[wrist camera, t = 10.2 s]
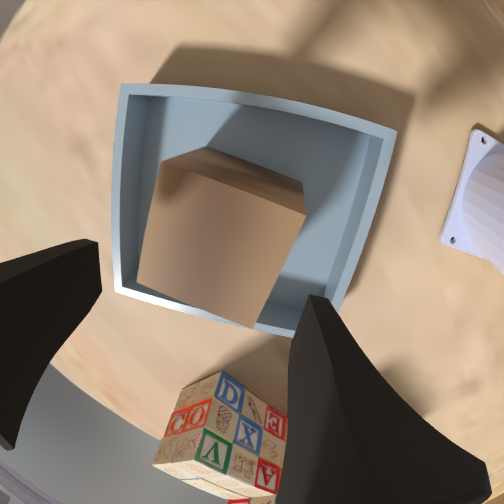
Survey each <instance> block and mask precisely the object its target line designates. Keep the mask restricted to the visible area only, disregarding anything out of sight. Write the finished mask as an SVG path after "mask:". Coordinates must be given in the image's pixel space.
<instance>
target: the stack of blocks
mask: <svg viewBox="0 0 504 504" xmlns="http://www.w3.org/2000/svg"><path fill="white" fill-rule="evenodd" d="M287 421H288V418H285V417H284V416H283V415H281V414H280V413H278V412H277V411H275V410H274V409H272V408H271V407H270V406H268V405H267V404H266V403H265V402H263V401H262V400H260V399H259V398H258V397H256V396H255V395H254V394H252V393H251V392H249V391H248V390H247V389H245V388H244V387H243V386H242V385H240V384H239V383H238V382H236V381H235V380H234V379H232V378H231V377H230V376H228V375H227V374H226V373H224V372H223V371H221V372H219V373H216V374H214V375H212V376H210V377H208V378H206V379H204V380H202V381H199V382H197V383H195V384H192V385H190V386H188V387H186V388H184V389H183V390H182V391H181V393H180V395H179V398H178V401H177V403H176V406H175V409H174V412H173V413H172V415H171V418H170V420H169V423H168V426H167V428H166V431H165V434H164V437H163V438H162V440H161V442H160V445H159V447H158V450H157V452H156V455H155V457H154V461H153V464H152V465H153V466H155V467H156V468H158V469H160V470H162V471H164V472H166V473H168V474H170V475H172V476H174V477H176V478H179V479H180V480H181V481H184V482H186V483H188V484H190V485H192V486H195V487H197V488H199V489H201V490H204V491H207V492H208V493H211V494H214V495H216V496H219V497H222V498H224V499H229V502H228V504H275V503H276V498H277V493H278V488H279V483H280V478H281V472H282V467H283V460H284V454H285V447H286V440H287Z"/></svg>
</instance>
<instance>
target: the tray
mask: <svg viewBox="0 0 504 504" xmlns="http://www.w3.org/2000/svg"><path fill="white" fill-rule="evenodd" d="M397 132H398V131H396V130H393V129H391V128H388V127H385V126H382V125H379V124H376V123H373V122H370V121H367V120H364V119H361V118H358V117H354V116H351V115H347V114H344V113H341V112H337V111H333V110H330V109H326V108H322V107H318V106H314V105H310V104H305V103H301V102H297V101H292V100H287V99H282V98H277V97H272V96H266V95H261V94H255V93H248V92H242V91H235V90H227V89H219V88H210V87H199V86H187V85H171V84H121V88H120V95H119V102H118V110H117V118H116V127H115V138H114V150H113V166H112V193H111V229H112V257H113V273H114V286H115V292H118V293H121V294H124V295H127V296H130V297H133V298H137V299H140V300H143V301H146V302H150V303H153V304H156V305H160V306H163V307H167V308H170V309H174V310H177V311H181V312H185V313H188V314H192V315H196V316H200V317H203V318H207V319H211V320H215V321H219V322H223V323H227V324H231V325H236V326H240V327H244V328H248V327H246V326H243V325H240V324H238V323H235V322H232V321H230V320H227V319H224V318H222V317H219V316H217V315H214V314H211V313H209V312H206V311H204V310H201V309H199V308H196V307H194V306H191V305H189V304H186V303H184V302H182V301H179V300H177V299H174V298H172V297H170V296H167V295H165V294H163V293H160V292H158V291H156V290H153V289H151V288H149V287H147V286H144V285H142V284H140V283H138V282H137V275H138V269H139V263H140V257H141V251H142V246H143V240H144V235H145V230H146V225H147V220H148V215H149V210H150V206H151V201H152V197H153V193H154V188H155V184H156V180H157V176H158V172H159V168H160V164H161V161H164V160H167V159H170V158H172V157H175V156H178V155H181V154H184V153H187V152H190V151H193V150H196V149H199V148H202V147H205V146H206V147H209V148H212V149H215V150H218V151H221V152H224V153H227V154H230V155H232V156H235V157H238V158H241V159H244V160H246V161H249V162H252V163H254V164H257V165H260V166H262V167H265V168H268V169H270V170H273V171H275V172H278V173H280V174H283V175H285V176H288V177H290V178H293V179H295V180H298V181H300V182H302V184H303V192H304V199H305V207H306V218H305V220H304V223H303V225H302V227H301V229H300V231H299V233H298V236H297V238H296V240H295V242H294V244H293V246H292V248H291V251H290V253H289V255H288V257H287V259H286V261H285V263H284V265H283V267H282V270H281V272H280V274H279V276H278V278H277V280H276V282H275V284H274V286H273V288H272V290H271V292H270V294H269V297H268V299H267V301H266V303H265V305H264V307H263V309H262V311H261V313H260V315H259V317H258V319H257V321H256V323H255V325H254V327H253V330H257V331H262V332H266V333H271V334H276V335H281V336H285V337H290V338H293V337H294V334H295V331H296V329H297V326H298V323H299V321H300V318H301V315H302V312H303V309H304V307H305V304H306V301H307V298H308V295H309V294H311V295H315V296H320V297H325V298H328V299H329V301H330V302H331V304H332V305H333V307H334V308H335V310H336V312H337V313H338V311H339V308H340V306H341V304H342V301H343V299H344V296H345V294H346V291H347V289H348V287H349V284H350V281H351V279H352V276H353V274H354V271H355V269H356V266H357V263H358V261H359V258H360V255H361V252H362V250H363V247H364V244H365V241H366V238H367V235H368V232H369V230H370V227H371V224H372V221H373V218H374V214H375V211H376V208H377V205H378V202H379V199H380V195H381V192H382V189H383V185H384V182H385V178H386V175H387V171H388V168H389V164H390V160H391V156H392V153H393V149H394V145H395V141H396V137H397ZM248 329H251V328H248Z"/></svg>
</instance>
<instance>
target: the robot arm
mask: <svg viewBox="0 0 504 504" xmlns="http://www.w3.org/2000/svg"><path fill="white" fill-rule="evenodd" d="M482 137H483V138H484V142H483V143H482V141H481V138H482ZM452 237H454V239H453V240H452V241H451V242H450V239H451V238H452ZM439 238H440V241H441V243H442V244H444V245H446V246H449V247H452V248H455V249H458V250H461V251H464V252H467V253H470V254H473V255H476V256H479V257H481V258H484V259H487V260H488V261H489V262H490V263H491V264H492V265H493V266H494V267H495V268H496V269H497V270H498V271H499V272H500V273H501V274H502V275H503V276H504V144H502V143H501V142H499V141H497V140H496V139H494V138H493V137H491V136H489V135H488V134H486V133H484V132H483V131H481V130H478V129H473V130H472V131H471V134H470V138H469V143H468V147H467V151H466V155H465V159H464V163H463V167H462V170H461V174H460V177H459V181H458V184H457V187H456V190H455V194H454V197H453V200H452V203H451V206H450V209H449V212H448V215H447V217H446V220H445V223H444V226H443V228H442V231H441V233H440V237H439ZM101 292H102V284H101V274H100V263H99V249H98V242H95V241H91V240H88V239H80V240H75V241H71V242H67V243H64V244H60V245H57V246H54V247H51V248H47V249H44V250H41V251H38V252H35V253H32V254H29V255H25V256H22V257H19V258H16V259H12V260H9V261H6V262H2V263H0V445H1V446H2V447H3V448H4V449H5V450H13V449H14V448H15V443H16V439H17V436H18V432H19V429H20V425H21V422H22V419H23V416H24V413H25V411H26V408H27V406H28V403H29V401H30V398H31V396H32V394H33V392H34V390H35V388H36V386H37V384H38V382H39V380H40V378H41V376H42V374H43V373H44V371H45V369H46V368H47V365H48V364H49V362H50V361H51V359H52V358H53V357H54V355H55V354H56V352H57V351H58V350H59V349H60V347H61V346H62V345H63V344H64V342H65V341H66V340H67V339H68V337H69V336H70V335H71V334H72V332H73V331H74V330H75V329H76V328H77V326H78V325H79V324H80V323H81V322H82V320H83V319H84V318H85V317H86V315H87V314H88V313H89V312H90V310H91V308H92V307H93V305H94V304H95V302H96V301H97V299H98V297H99V296H100V294H101ZM0 484H2V485H3V486H4V487H5V488H6V489H8V490H9V491H10V492H11V493H13V494H14V495H15V496H16V497H18V498H19V499H20V500H22V501H23V502H24V503H26V504H63V503H61V502H59V501H58V500H56V499H55V498H53V497H51V496H50V495H48V494H47V493H45V492H44V491H42V490H41V489H39V488H38V487H36V486H35V485H33V484H32V483H31V482H29V481H28V480H26V479H25V478H23V477H22V476H21V475H20V474H18V473H17V472H16V471H14V470H13V469H12V468H11V467H10V466H8V465H7V464H6V463H4V462H3V461H2V460H1V459H0ZM491 494H492V490H491V485H490V481H489V476H488V472H487V468H486V464H485V462H483V461H482V460H480V459H478V458H477V457H475V456H474V455H472V454H470V453H469V452H467V451H466V450H464V449H462V448H461V447H459V446H458V445H456V444H455V443H453V442H452V441H450V440H449V439H448V438H447V437H445V436H444V435H443V434H441V433H440V432H439V431H437V430H436V429H435V428H434V427H432V426H431V425H430V424H429V423H428V422H426V421H425V420H424V419H423V418H422V417H421V416H420V415H419V414H418V413H417V412H416V411H414V410H413V409H412V408H411V407H410V406H409V405H408V404H407V403H406V402H405V401H404V400H403V399H402V398H401V397H400V396H399V395H398V394H397V393H396V392H395V390H394V389H393V388H392V387H391V386H390V385H389V384H388V383H387V381H386V380H385V379H384V378H383V377H382V376H381V374H380V373H379V372H378V371H377V370H376V368H375V367H374V366H373V364H372V363H371V362H370V360H369V359H368V358H367V356H366V355H365V354H364V352H363V351H362V349H361V348H360V347H359V345H358V344H357V342H356V341H355V339H354V338H353V336H352V335H351V333H350V332H349V330H348V329H347V327H346V326H345V324H344V323H343V321H342V319H341V318H340V316H339V315H338V313H337V312H336V310H335V308H334V307H333V305H332V304H331V302H330V301H329V299H328V298H325V297H320V296H315V295H311V294H309V295H308V298H307V301H306V304H305V307H304V309H303V312H302V315H301V318H300V321H299V323H298V326H297V329H296V331H295V334H294V337H293V339H292V342H291V350H290V357H289V365H288V421H287V440H286V447H285V454H284V460H283V467H282V472H281V478H280V483H279V488H278V493H277V498H276V503H275V504H482V503H483V502H484V501H486V500H487V499H488V498H489V497H490V496H491ZM9 501H10V496H9V495H8V494H7V493H6V491H5V490H4V489H3V488H2V487H0V504H8V503H9Z"/></svg>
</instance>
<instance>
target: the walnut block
mask: <svg viewBox="0 0 504 504" xmlns="http://www.w3.org/2000/svg"><path fill="white" fill-rule="evenodd" d="M305 218H306V207H305V199H304V192H303V184H302V182H300V181H298V180H295V179H293V178H290V177H288V176H285V175H283V174H280V173H278V172H275V171H273V170H270V169H268V168H265V167H262V166H260V165H257V164H254V163H252V162H249V161H246V160H244V159H241V158H238V157H235V156H232V155H230V154H227V153H224V152H221V151H218V150H215V149H212V148H209V147H206V146H205V147H202V148H199V149H196V150H193V151H190V152H187V153H184V154H181V155H178V156H175V157H172V158H170V159H167V160H164V161H161V164H160V168H159V172H158V176H157V180H156V184H155V188H154V193H153V197H152V201H151V206H150V210H149V215H148V220H147V225H146V230H145V235H144V240H143V246H142V251H141V257H140V263H139V269H138V275H137V282H138V283H140V284H142V285H144V286H147V287H149V288H151V289H153V290H156V291H158V292H160V293H163V294H165V295H167V296H170V297H172V298H174V299H177V300H179V301H182V302H184V303H186V304H189V305H191V306H194V307H196V308H199V309H201V310H204V311H206V312H209V313H211V314H214V315H217V316H219V317H222V318H224V319H227V320H230V321H232V322H235V323H238V324H240V325H243V326H246V327H248V328H251V329H253V327H254V325H255V323H256V321H257V319H258V317H259V315H260V313H261V311H262V309H263V307H264V305H265V303H266V301H267V299H268V297H269V294H270V292H271V290H272V288H273V286H274V284H275V282H276V280H277V278H278V276H279V274H280V272H281V270H282V267H283V265H284V263H285V261H286V259H287V257H288V255H289V253H290V251H291V248H292V246H293V244H294V242H295V240H296V238H297V236H298V233H299V231H300V229H301V227H302V225H303V223H304V220H305Z"/></svg>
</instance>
